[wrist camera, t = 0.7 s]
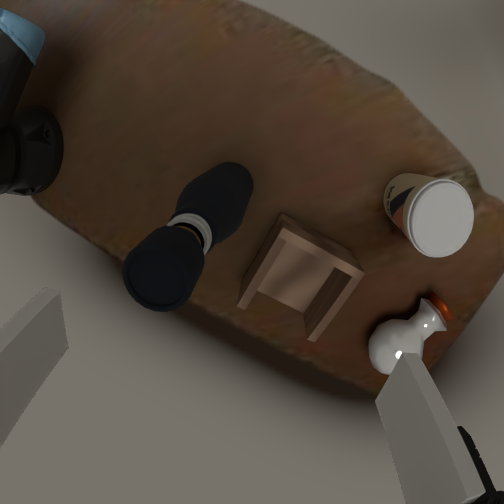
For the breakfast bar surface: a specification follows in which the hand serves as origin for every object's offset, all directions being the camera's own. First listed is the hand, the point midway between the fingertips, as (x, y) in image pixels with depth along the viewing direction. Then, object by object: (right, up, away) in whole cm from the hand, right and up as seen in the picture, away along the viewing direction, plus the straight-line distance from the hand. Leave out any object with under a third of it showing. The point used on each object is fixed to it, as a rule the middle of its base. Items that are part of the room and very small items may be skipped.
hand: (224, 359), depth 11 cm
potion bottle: (+26, -8, +39) cm, 48 cm away
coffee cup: (+23, +12, +32) cm, 41 cm away
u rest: (+7, +2, +36) cm, 37 cm away
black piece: (-2, +13, +33) cm, 35 cm away
